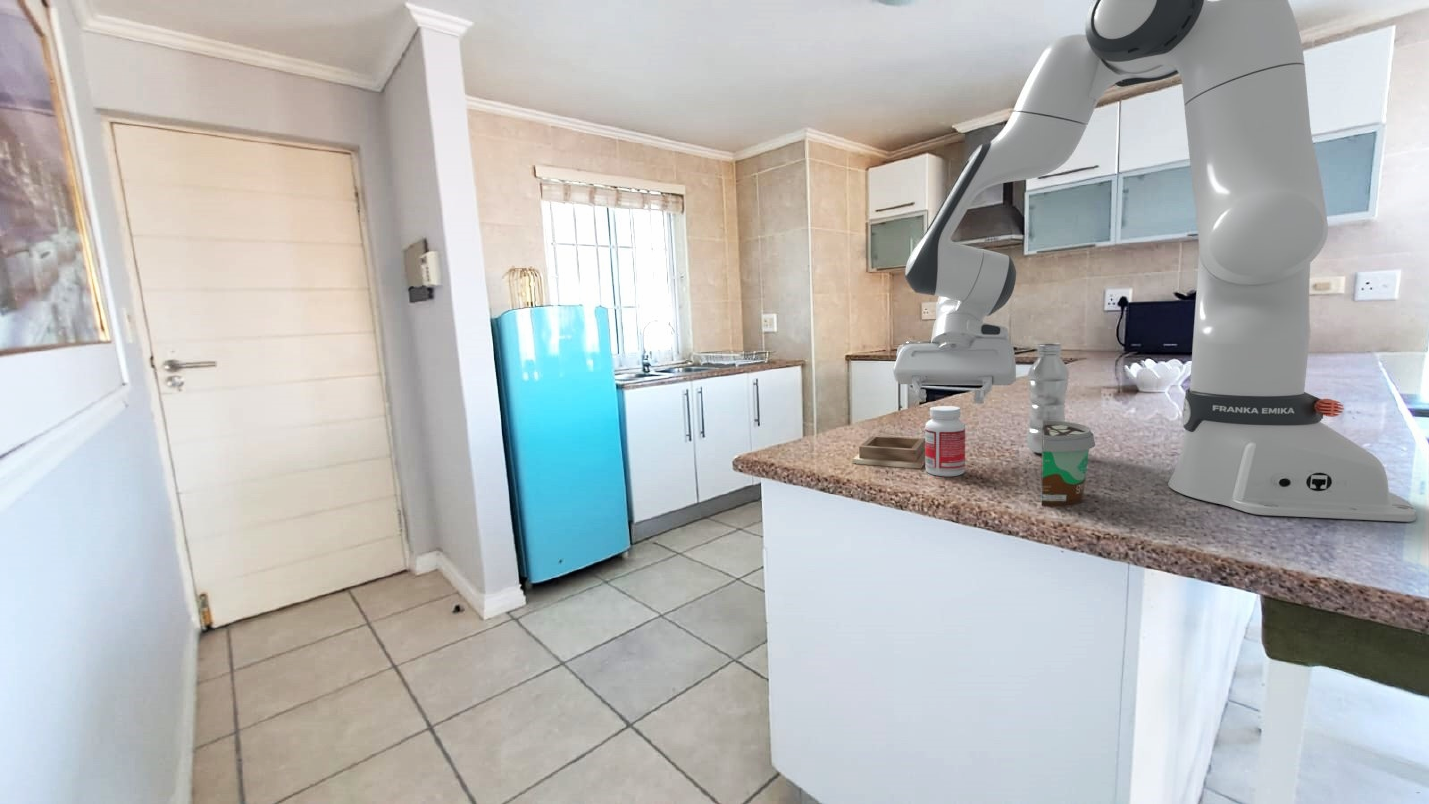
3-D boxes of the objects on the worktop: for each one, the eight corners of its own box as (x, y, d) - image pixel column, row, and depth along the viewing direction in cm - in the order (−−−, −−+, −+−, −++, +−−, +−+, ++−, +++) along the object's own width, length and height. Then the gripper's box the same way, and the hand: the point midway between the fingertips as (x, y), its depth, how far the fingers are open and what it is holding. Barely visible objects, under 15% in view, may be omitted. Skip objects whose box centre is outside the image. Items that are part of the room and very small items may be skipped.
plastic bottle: (1034, 458, 99) (1037, 346, 96) (1020, 449, 105) (1022, 344, 102) (1074, 457, 97) (1078, 344, 94) (1057, 448, 104) (1060, 342, 101)
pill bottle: (971, 471, 93) (971, 406, 92) (955, 479, 89) (956, 412, 87) (935, 465, 98) (935, 404, 96) (918, 473, 93) (918, 409, 92)
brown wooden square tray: (931, 452, 106) (931, 437, 106) (920, 468, 96) (920, 451, 96) (869, 448, 112) (868, 434, 112) (852, 463, 102) (852, 447, 102)
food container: (1097, 514, 71) (1100, 438, 70) (1041, 509, 74) (1043, 436, 73) (1089, 487, 82) (1091, 421, 80) (1040, 483, 85) (1042, 419, 83)
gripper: (896, 331, 106) (884, 388, 99) (1017, 327, 96) (1014, 390, 89) (901, 353, 111) (890, 409, 104) (1017, 351, 100) (1014, 413, 93)
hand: (948, 400), depth 96 cm, fingers open, 8 cm apart
